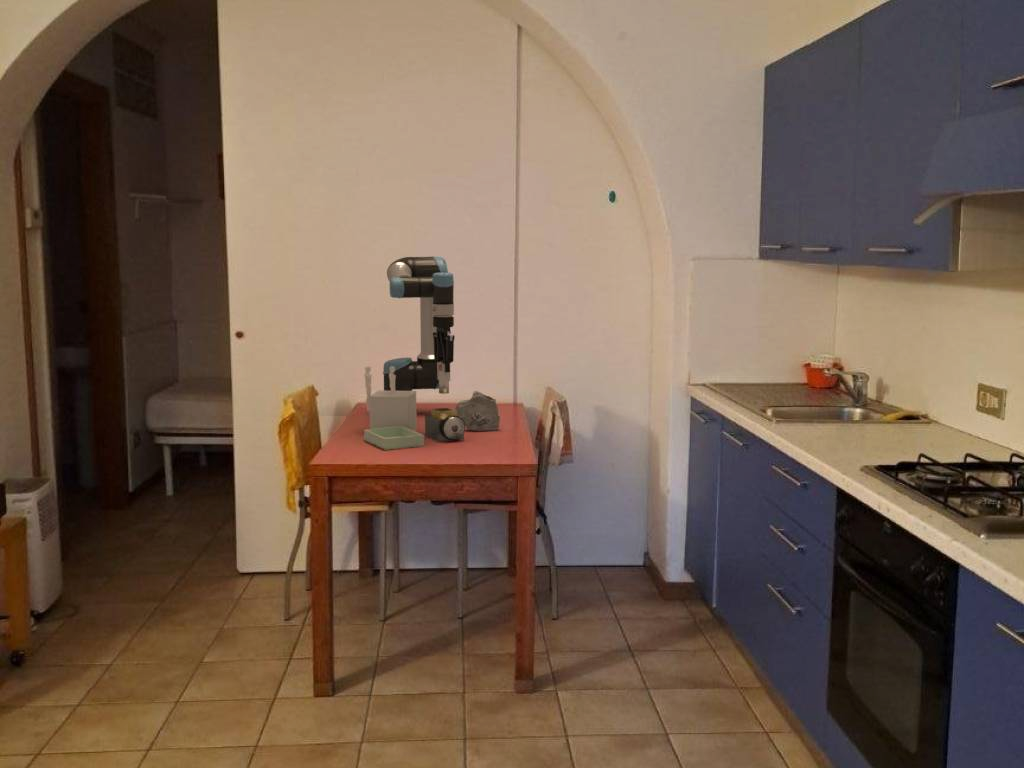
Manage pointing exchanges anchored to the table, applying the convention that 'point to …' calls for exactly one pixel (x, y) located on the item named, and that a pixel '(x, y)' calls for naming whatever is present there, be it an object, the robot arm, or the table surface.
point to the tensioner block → (444, 425)
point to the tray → (394, 437)
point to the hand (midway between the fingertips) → (443, 380)
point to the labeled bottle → (442, 385)
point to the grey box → (390, 405)
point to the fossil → (479, 412)
